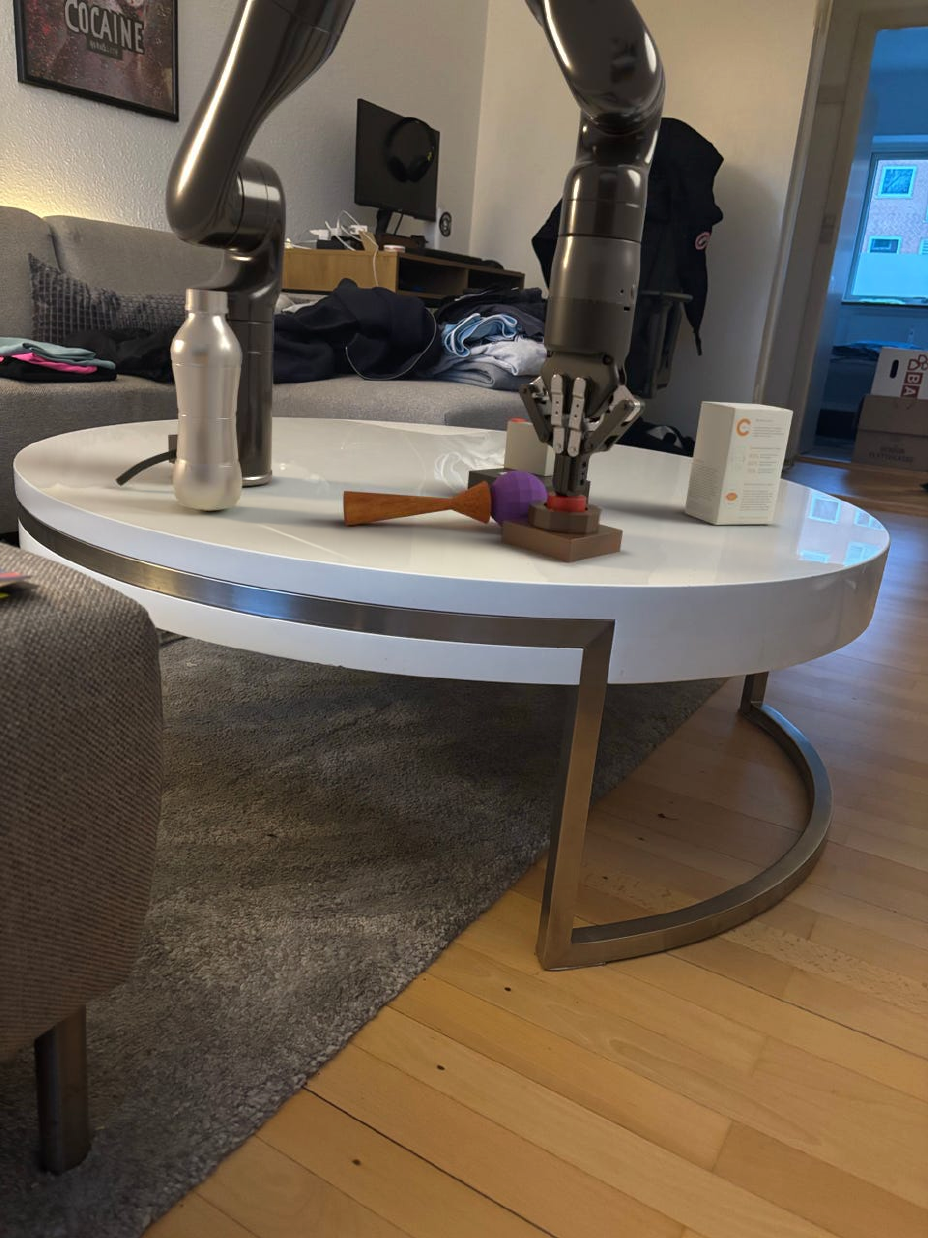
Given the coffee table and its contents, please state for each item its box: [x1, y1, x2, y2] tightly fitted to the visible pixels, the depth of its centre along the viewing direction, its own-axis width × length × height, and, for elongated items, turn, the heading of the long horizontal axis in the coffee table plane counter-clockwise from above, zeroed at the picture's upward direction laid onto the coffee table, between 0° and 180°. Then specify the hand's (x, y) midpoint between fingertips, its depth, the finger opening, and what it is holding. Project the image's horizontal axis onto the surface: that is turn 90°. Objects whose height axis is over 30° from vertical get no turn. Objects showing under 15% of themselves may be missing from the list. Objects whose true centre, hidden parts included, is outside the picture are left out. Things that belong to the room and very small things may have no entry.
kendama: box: [342, 470, 547, 529], centre depth 89 cm, size 6×6×20 cm
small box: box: [684, 400, 794, 526], centre depth 104 cm, size 8×6×13 cm
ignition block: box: [500, 499, 624, 564], centre depth 85 cm, size 8×8×4 cm
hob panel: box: [466, 462, 592, 504], centre depth 107 cm, size 12×12×3 cm
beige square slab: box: [503, 417, 555, 476], centre depth 107 cm, size 6×2×6 cm, turn 50°
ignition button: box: [546, 492, 587, 512], centre depth 85 cm, size 4×4×2 cm
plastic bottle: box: [170, 288, 243, 512], centre depth 85 cm, size 6×7×20 cm
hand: (567, 495), depth 84 cm, fingers closed
